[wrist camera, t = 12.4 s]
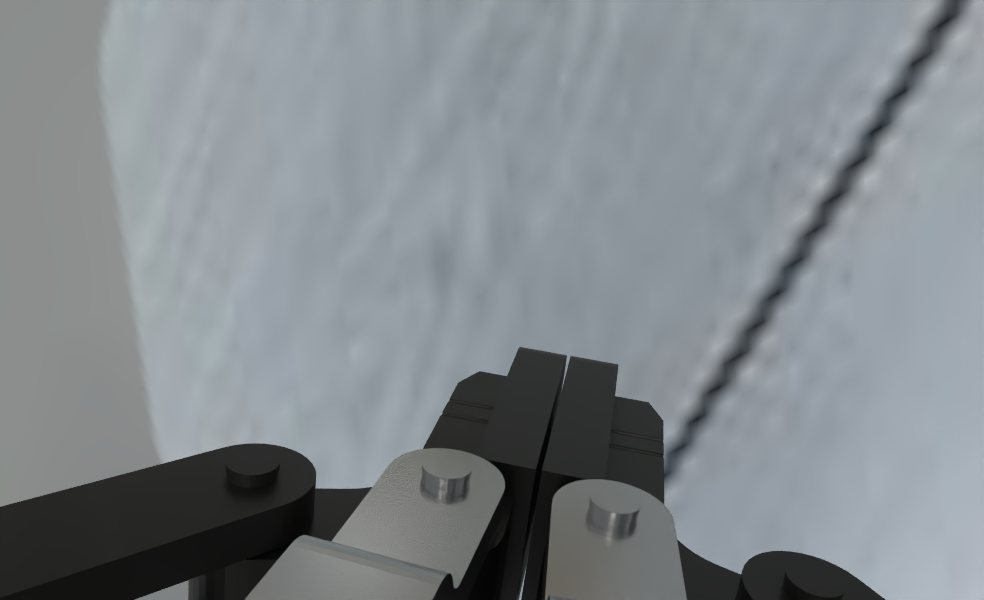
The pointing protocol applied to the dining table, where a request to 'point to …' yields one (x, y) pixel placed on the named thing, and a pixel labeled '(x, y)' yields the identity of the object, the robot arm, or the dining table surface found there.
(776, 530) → the dining table surface
